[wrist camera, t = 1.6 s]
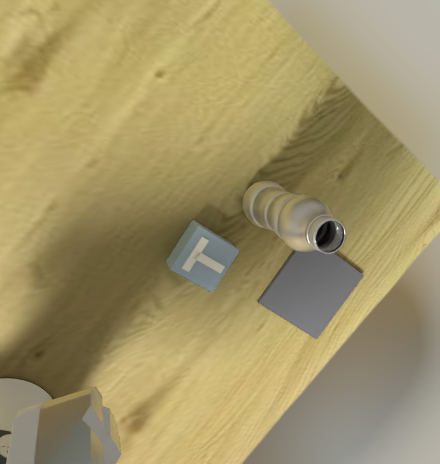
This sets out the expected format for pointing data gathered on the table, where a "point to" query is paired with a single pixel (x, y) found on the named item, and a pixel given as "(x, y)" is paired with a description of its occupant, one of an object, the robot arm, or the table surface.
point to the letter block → (202, 256)
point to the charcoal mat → (310, 289)
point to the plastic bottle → (294, 218)
